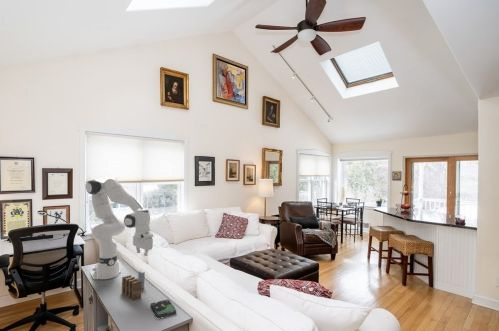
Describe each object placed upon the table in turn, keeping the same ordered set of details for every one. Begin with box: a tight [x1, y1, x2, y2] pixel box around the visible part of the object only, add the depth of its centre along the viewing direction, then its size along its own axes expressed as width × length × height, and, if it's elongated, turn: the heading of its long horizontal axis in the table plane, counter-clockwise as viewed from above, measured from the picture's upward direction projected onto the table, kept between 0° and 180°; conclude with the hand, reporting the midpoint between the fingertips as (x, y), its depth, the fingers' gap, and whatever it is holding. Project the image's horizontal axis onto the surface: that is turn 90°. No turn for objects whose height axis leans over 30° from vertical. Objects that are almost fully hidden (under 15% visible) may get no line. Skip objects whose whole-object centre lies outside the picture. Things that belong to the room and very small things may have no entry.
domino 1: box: [121, 274, 132, 295], centre depth 169 cm, size 2×5×10 cm, turn 140°
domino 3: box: [127, 277, 138, 299], centre depth 163 cm, size 2×5×10 cm, turn 139°
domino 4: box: [131, 280, 142, 301], centre depth 161 cm, size 2×5×10 cm, turn 140°
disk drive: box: [150, 299, 177, 319], centre depth 147 cm, size 10×3×15 cm
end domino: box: [137, 270, 146, 289], centre depth 177 cm, size 2×5×10 cm, turn 50°
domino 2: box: [124, 276, 136, 297], centre depth 166 cm, size 2×5×10 cm, turn 139°
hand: (142, 254), depth 178 cm, fingers open, 8 cm apart
